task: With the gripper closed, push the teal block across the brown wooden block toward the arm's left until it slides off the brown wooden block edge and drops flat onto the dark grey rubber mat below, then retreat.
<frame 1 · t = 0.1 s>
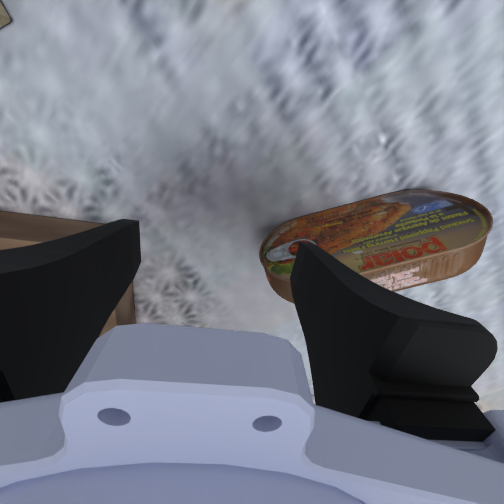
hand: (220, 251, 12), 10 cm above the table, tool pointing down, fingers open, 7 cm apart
brown wooden block: (80, 295, 25), on the table
tin: (343, 220, 23), on the table
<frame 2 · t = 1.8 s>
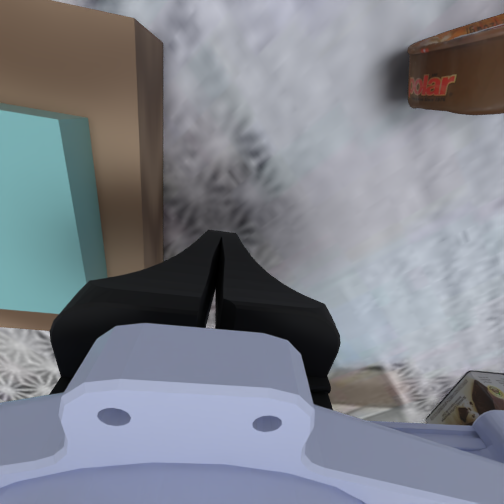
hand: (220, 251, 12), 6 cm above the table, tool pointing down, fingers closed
brown wooden block: (79, 188, 16), on the table
coffee box: (467, 397, 29), on the table
teal block: (34, 211, 12), point 4 cm above the table, touching brown wooden block
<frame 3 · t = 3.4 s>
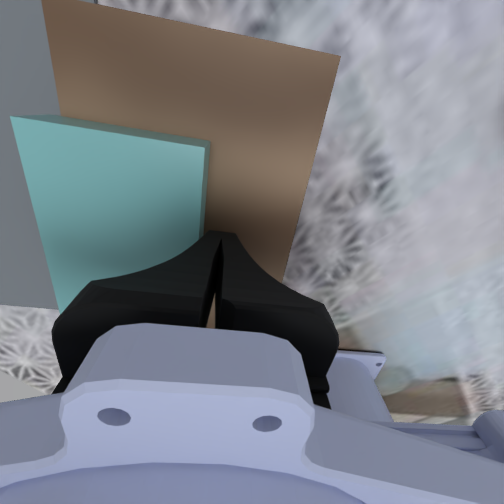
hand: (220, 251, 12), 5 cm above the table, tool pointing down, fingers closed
brown wooden block: (200, 209, 16), on the table
mat: (14, 184, 15), on the table
teal block: (138, 232, 12), point 4 cm above the table, touching brown wooden block, gripper
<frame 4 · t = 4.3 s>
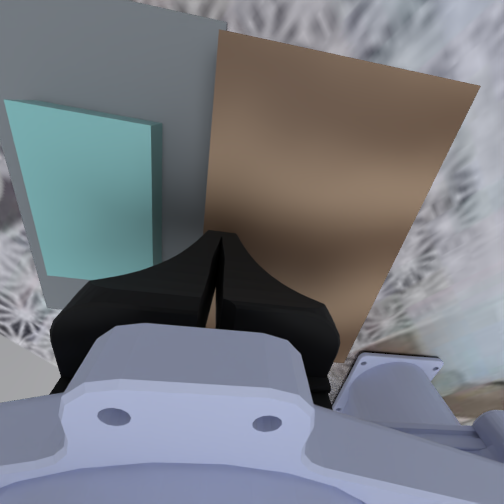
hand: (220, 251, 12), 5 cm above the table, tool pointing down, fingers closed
brown wooden block: (288, 221, 17), on the table
mat: (117, 197, 15), on the table
teal block: (92, 210, 13), point 2 cm above the table, tilted 180°, touching mat
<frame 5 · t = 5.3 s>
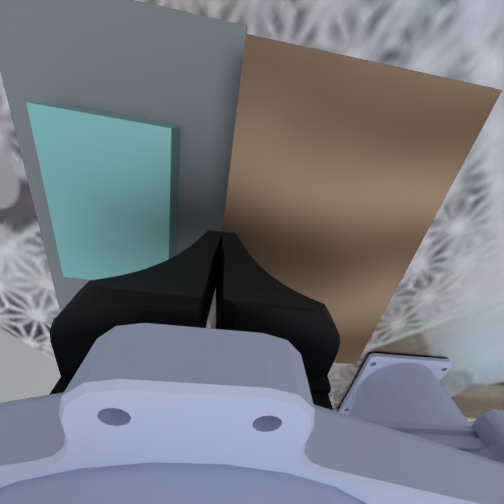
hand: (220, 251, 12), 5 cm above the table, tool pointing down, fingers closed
brown wooden block: (302, 222, 17), on the table
mat: (133, 199, 16), on the table
teal block: (110, 212, 13), point 2 cm above the table, tilted 180°, touching mat
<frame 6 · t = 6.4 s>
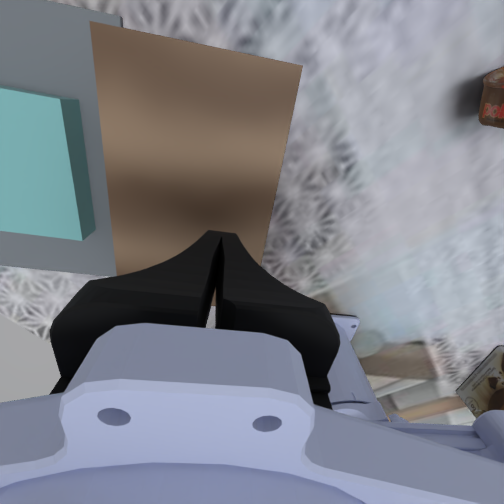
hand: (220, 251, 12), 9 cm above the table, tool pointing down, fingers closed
brown wooden block: (200, 187, 20), on the table
mat: (50, 165, 18), on the table
coffee box: (493, 370, 33), on the table
teal block: (21, 171, 16), point 2 cm above the table, tilted 180°, touching mat
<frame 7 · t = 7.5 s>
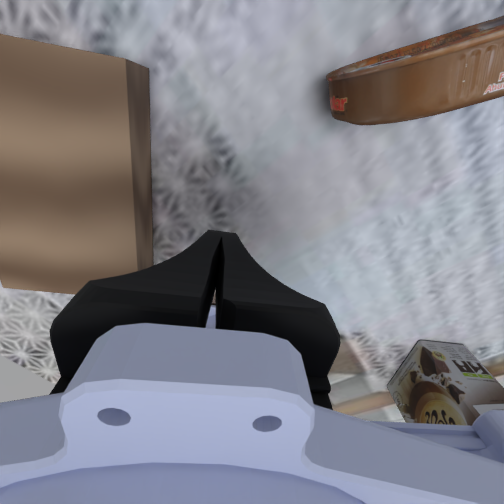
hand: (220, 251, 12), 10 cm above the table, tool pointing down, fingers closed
brown wooden block: (84, 180, 20), on the table
coffee box: (421, 364, 33), on the table
tin: (420, 69, 18), on the table
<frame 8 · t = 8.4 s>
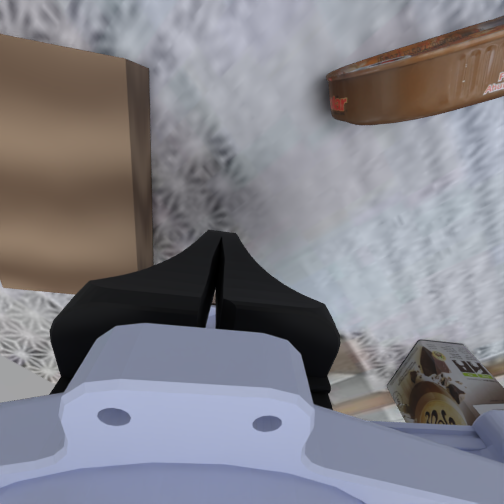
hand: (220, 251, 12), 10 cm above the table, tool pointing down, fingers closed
brown wooden block: (84, 180, 20), on the table
coffee box: (421, 364, 33), on the table
tin: (420, 69, 18), on the table
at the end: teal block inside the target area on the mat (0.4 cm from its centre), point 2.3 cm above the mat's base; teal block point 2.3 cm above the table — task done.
